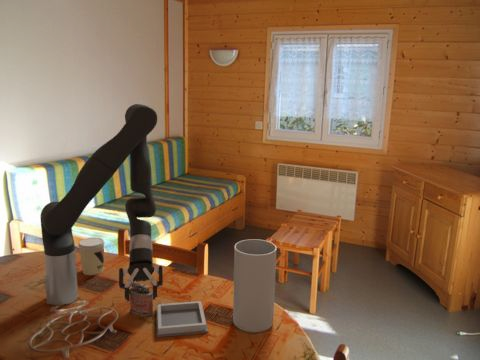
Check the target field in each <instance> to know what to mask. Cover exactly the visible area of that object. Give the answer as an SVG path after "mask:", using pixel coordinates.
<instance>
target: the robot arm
mask: <svg viewBox="0 0 480 360" xmlns="http://www.w3.org/2000/svg"><path fill="white" fill-rule="evenodd" d="M124 120H125V124H124V125H123V126H122V128H121V129H120V131H118V132H117V134H115V136H113V137H111V139H109V140H108V141H107V142H105V143H103V144H102V145H101V146H100V147H99V148H97V149H96V150H95V151H94V152H93V153H92V155H91V156H90V157H89V158H88V159H87V160H86V161H85V163H84V165H82V167H81V168H80V169H79V172H78V174H77V176H76V177H75V180H74V181H73V183H72V186H71V188H70V189H69V191H68V192H67V193H66V194H65V196H63V198H61V200H60V201H56V200H55V201H50V202H49V203H47V204H45V205H44V207H43V208H42V209H41V212H40V227H41V235H42V236H41V237H42V238H41V239H42V245H43V253H44V261H45V262H44V263H45V276H44V286H45V296H46V297H45V298H46V304H47V305H53V306H63V305H62V304H66V305H69V304H72V303H73V302H76V300H77V299H78V298H79V293H78V292H79V291H78V290H79V289H78V277H77V263H76V250H75V249H76V247H75V239H74V236H73V227H74V226H75V224H76V222H77V220H78V219H79V218H80V217H81V215H82V213H83V212H84V211H85V209H86V208H87V206H88V205H89V203H91V201H92V200H93V199H94V198H95V197H96V196H97V194H99V192H100V191H101V190H102V189H103V187H104V186H105V185H106V184H107V183H109V180H111V178H112V177H113V176H114V175H115V173H117V171H118V170H119V168H120V167H121V166H122V165H123V163H125V161H126V159H127V158H129V161H130V162H129V166H130V171H129V172H130V175H129V179H130V190H131V191H132V192H134V193H139V194H142V195H144V196H145V197H130V198H128V199H127V200H126V202H125V204H124V205H125V207H124V208H125V212H126V216H127V219H128V222H129V231H130V234H129V247H128V248H129V250H128V251H129V253H128V254H129V255H128V256H129V261H128V262H129V265H128V268H123V267H120V268H119V269H118V270H119V271H118V287H119V289H123V290H124V299H125V300H126V301H127V302H130V293H129V290H130V289H131V288H132V287H131V284H132V283H138V282H147V281H148V282H149V283H150V284H151V285H152V292H153V296H152V299H153V301H154V300H156V298H158V287H162V286H163V285H164V283H163V282H164V281H163V280H164V279H163V277H164V276H163V273H164V272H163V266H162V265H159V266H156V267H155V266H154V264H153V261H154V260H153V259H154V258H153V240H152V225H151V223H150V222H149V221H147V220H144V219H145V218H146V219H147V218H152V217H154V215H156V212H157V205H156V202H155V199H154V195H153V191H152V170H151V169H152V168H151V160H150V156H149V152H148V144H147V143H148V142H147V140H148V139H147V136H148V135H149V134H150V133H151V132H152V131H153V130H154V129H155V127H156V126H157V124H158V114H157V112H156V110H155V109H154V108H153V107H151V106H149V105H145V104H141V103H134V104H132V105H130V106H129V107H128V108H127V109H126V111H125V113H124ZM140 218H141V219H140ZM143 218H144V219H143ZM142 219H143V220H142ZM154 272H155V273H156V274H157V275H158V281H156V280H155V278H154V276H152V275H153V274H154ZM127 274H128V275H129V276H130V277H129V278H128V280H127V281H126V282H125V283H124V277H126V275H127Z"/></svg>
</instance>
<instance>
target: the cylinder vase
mask: <svg viewBox="0 0 480 360" xmlns="http://www.w3.org/2000/svg"><path fill="white" fill-rule="evenodd" d="M233 248H234V254H233V256H234V257H233V263H234V264H233V296H232V297H233V302H232V304H233V305H232V306H233V308H232V321H233V325H234V326H235V327H236V328H237V329H239V330H241V331H244V332H247V333H261V332H262V333H263V332H265V331H267V330H269V329H270V328H271V327H272V325H273V323H274V314H275V313H274V312H275V296H276V295H275V291H276V290H275V289H276V272H277V271H276V269H277V268H276V267H277V246H276V244H274V243H273V242H272V241H268V240H265V239H257V238H256V239H255V238H254V239H252V238H250V239H243V240H239V241H238V242H236V243H235V244H234V247H233Z"/></svg>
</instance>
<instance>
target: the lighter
mask: <svg viewBox="0 0 480 360" xmlns="http://www.w3.org/2000/svg"><path fill="white" fill-rule="evenodd" d="M129 293H130V299H129V302H130V308H129V313H130V314H133V315H136V316H139V317H148V318H149V317H153V316H154V303H153V301H154V300H153V290H150V286H149V285H146V284H145V283H144V282H143V283H138V282H134V283H132V284H131V287H130V288H129Z"/></svg>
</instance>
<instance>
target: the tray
mask: <svg viewBox="0 0 480 360" xmlns="http://www.w3.org/2000/svg"><path fill="white" fill-rule="evenodd" d="M155 320H156V321H155V322H156V323H155V325H156V326H155V327H156V329H155V330H156V333H155V335H156V338H164V337H165V338H166V337H177V336H189V335H198V334H199V335H200V334H207V333H209V329H208V324H207V322H206V321H207V319H206V316H205V311H204V307H203V303H202V300H197V301H185V302H183V301H182V302H173V303H172V302H170V303H160V304H157V309H155Z"/></svg>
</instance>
